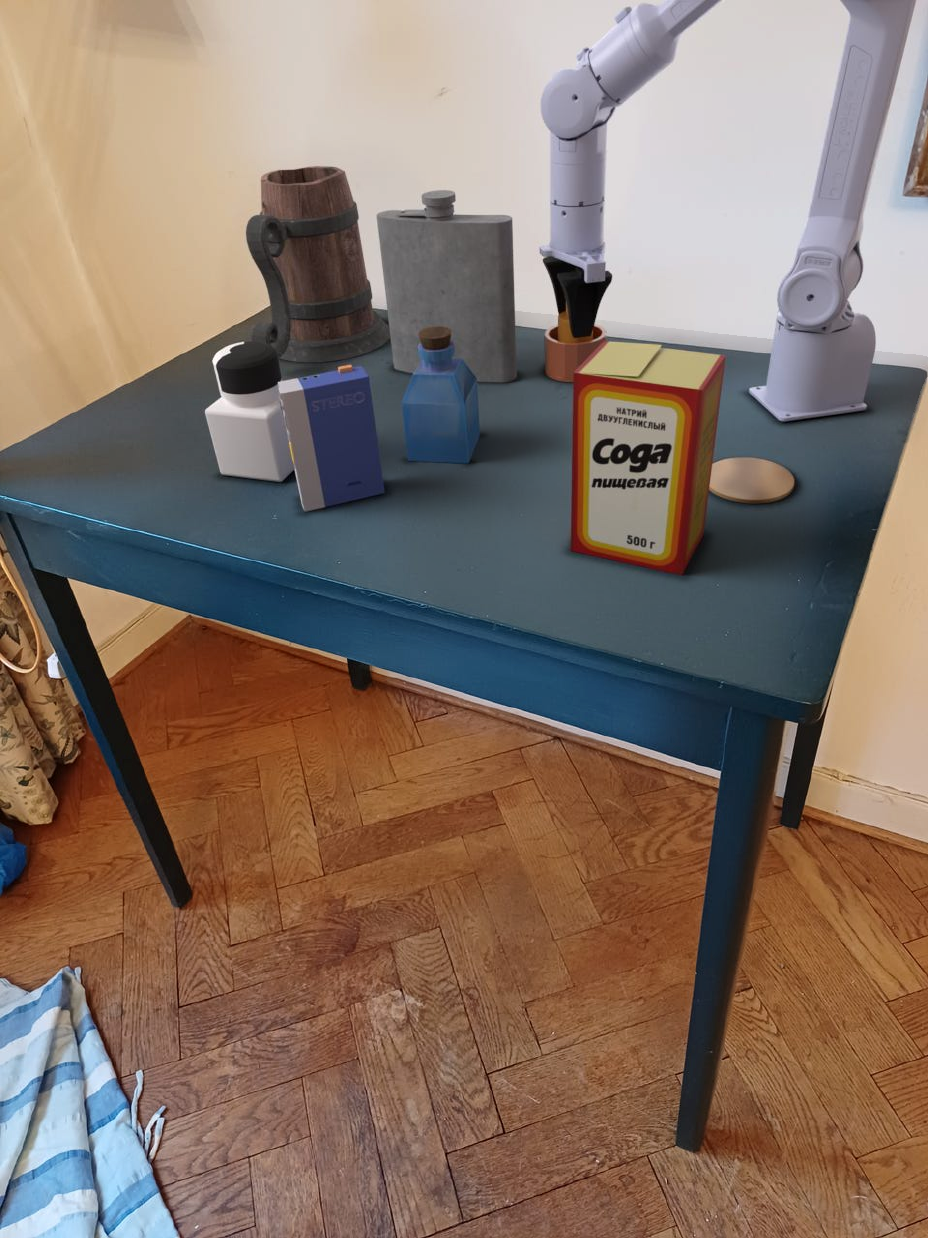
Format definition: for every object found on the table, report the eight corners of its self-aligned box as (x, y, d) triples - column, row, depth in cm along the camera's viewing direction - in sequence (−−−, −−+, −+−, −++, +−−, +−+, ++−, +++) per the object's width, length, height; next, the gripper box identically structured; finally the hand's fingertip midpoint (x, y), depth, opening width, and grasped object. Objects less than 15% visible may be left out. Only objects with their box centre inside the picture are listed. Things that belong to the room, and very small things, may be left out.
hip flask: (520, 373, 104) (516, 189, 92) (507, 386, 102) (501, 199, 89) (401, 359, 110) (382, 185, 98) (386, 372, 107) (364, 193, 95)
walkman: (377, 480, 86) (360, 361, 79) (384, 493, 84) (368, 372, 76) (297, 498, 84) (273, 378, 77) (303, 512, 82) (278, 389, 75)
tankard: (306, 311, 127) (280, 157, 114) (412, 320, 121) (396, 159, 109) (210, 375, 110) (167, 202, 98) (327, 389, 104) (297, 207, 92)
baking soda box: (703, 533, 75) (726, 350, 65) (681, 575, 70) (702, 384, 61) (597, 512, 79) (604, 336, 69) (570, 550, 74) (573, 367, 64)
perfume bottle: (468, 463, 88) (460, 344, 80) (408, 460, 89) (394, 344, 81) (479, 434, 92) (473, 320, 85) (422, 433, 93) (411, 320, 86)
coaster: (769, 455, 85) (770, 452, 85) (809, 496, 79) (810, 492, 78) (690, 467, 84) (690, 463, 84) (724, 509, 78) (724, 505, 78)
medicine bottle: (315, 450, 92) (294, 337, 84) (282, 483, 87) (257, 365, 79) (255, 443, 94) (229, 332, 87) (219, 476, 89) (189, 360, 81)
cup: (594, 355, 107) (595, 318, 104) (612, 377, 102) (614, 339, 99) (538, 363, 106) (538, 326, 104) (553, 385, 101) (553, 347, 98)
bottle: (586, 357, 106) (588, 279, 100) (596, 370, 102) (598, 289, 97) (554, 362, 105) (554, 283, 99) (562, 374, 102) (563, 294, 96)
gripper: (524, 189, 98) (526, 311, 106) (558, 221, 87) (557, 355, 95) (586, 182, 99) (583, 304, 107) (627, 213, 87) (621, 347, 96)
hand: (575, 328), depth 101 cm, fingers open, 4 cm apart
